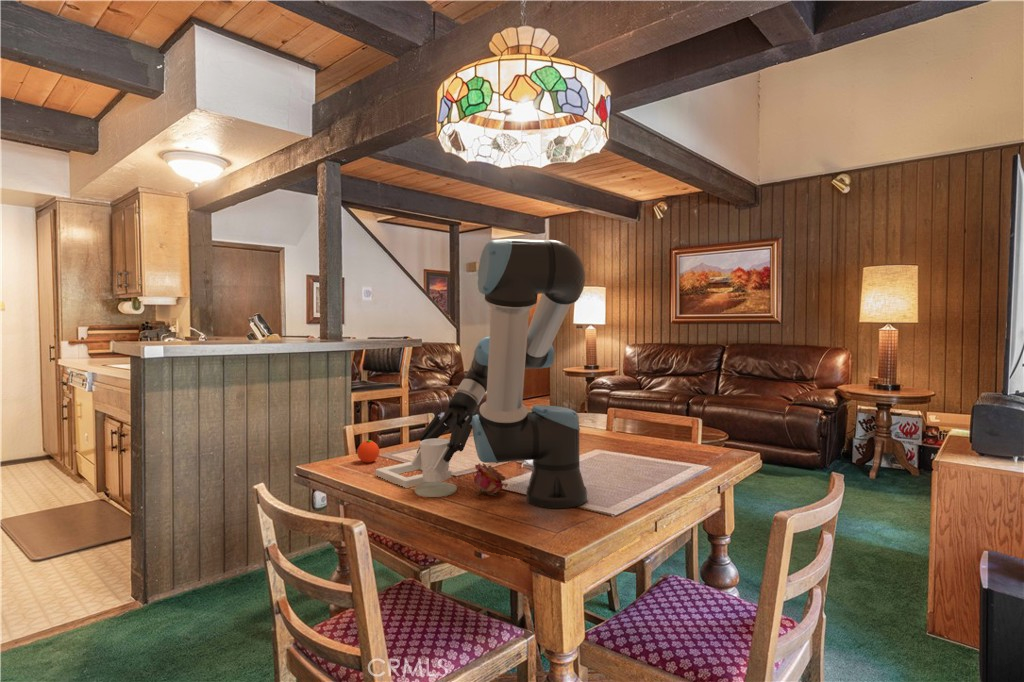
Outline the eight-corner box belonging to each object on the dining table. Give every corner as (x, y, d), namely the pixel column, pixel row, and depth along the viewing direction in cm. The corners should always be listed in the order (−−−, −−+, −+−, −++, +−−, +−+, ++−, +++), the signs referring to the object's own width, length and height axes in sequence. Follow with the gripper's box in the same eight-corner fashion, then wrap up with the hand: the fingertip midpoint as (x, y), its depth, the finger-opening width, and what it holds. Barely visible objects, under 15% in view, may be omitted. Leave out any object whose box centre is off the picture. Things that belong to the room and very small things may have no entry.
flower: (475, 496, 136) (493, 468, 137) (458, 480, 144) (475, 454, 145) (500, 510, 142) (517, 483, 143) (482, 494, 149) (499, 468, 150)
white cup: (453, 474, 150) (452, 438, 150) (447, 483, 142) (446, 445, 142) (424, 474, 151) (424, 438, 150) (417, 483, 143) (416, 445, 143)
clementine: (362, 458, 182) (361, 437, 182) (383, 458, 182) (382, 437, 182) (354, 465, 174) (353, 442, 174) (376, 465, 174) (375, 442, 174)
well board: (451, 477, 159) (451, 470, 159) (406, 488, 149) (406, 481, 149) (419, 466, 172) (419, 460, 172) (375, 476, 162) (375, 469, 162)
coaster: (464, 491, 146) (464, 488, 146) (429, 500, 139) (429, 497, 139) (441, 482, 154) (441, 479, 154) (406, 491, 147) (406, 488, 147)
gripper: (500, 410, 152) (461, 483, 140) (447, 403, 164) (407, 470, 152) (488, 393, 147) (446, 467, 135) (434, 388, 160) (391, 455, 148)
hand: (425, 468), depth 144 cm, fingers closed on white cup, 7 cm apart
